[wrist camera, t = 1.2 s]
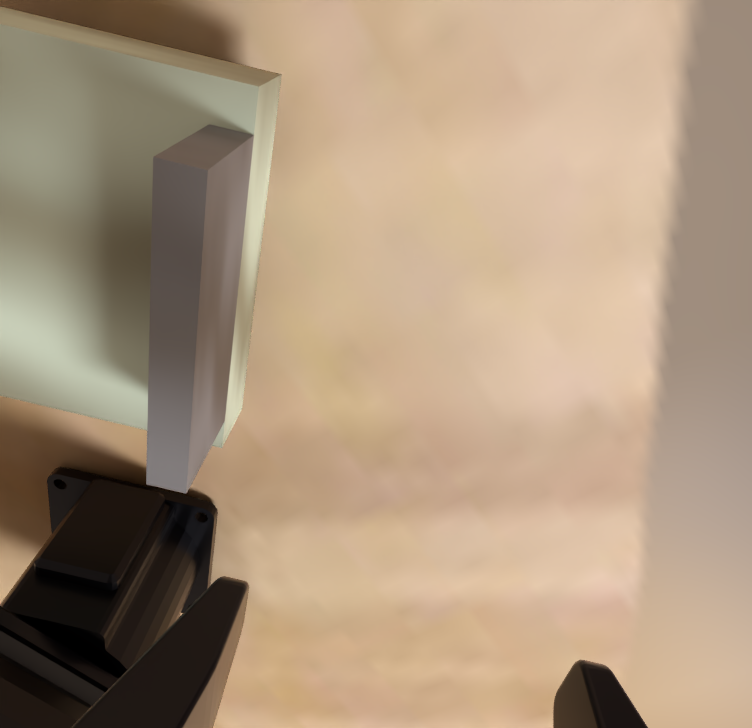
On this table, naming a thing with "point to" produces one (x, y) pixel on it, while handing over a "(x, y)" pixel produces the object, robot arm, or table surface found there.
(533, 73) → the table surface
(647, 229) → the table surface
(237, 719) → the table surface
